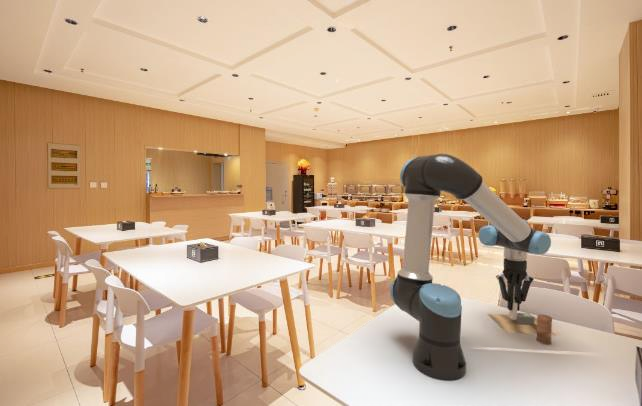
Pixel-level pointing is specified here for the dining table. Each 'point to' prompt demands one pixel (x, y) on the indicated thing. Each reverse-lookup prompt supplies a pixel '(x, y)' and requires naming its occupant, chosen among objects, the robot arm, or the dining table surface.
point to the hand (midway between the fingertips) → (513, 318)
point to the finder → (524, 319)
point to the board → (515, 325)
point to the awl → (544, 329)
